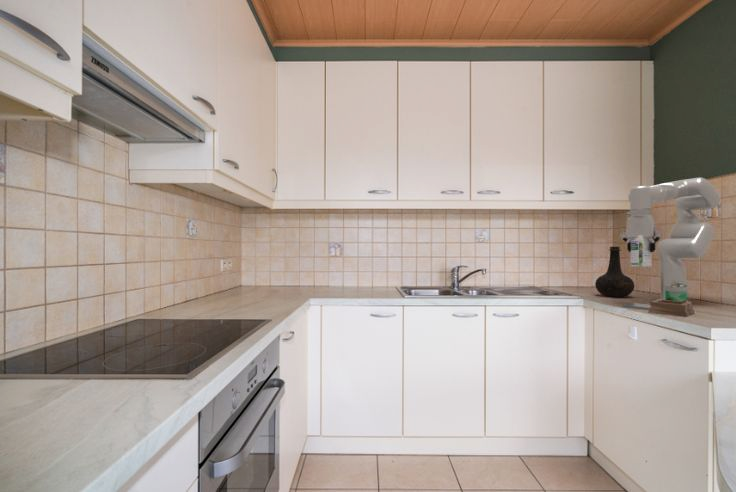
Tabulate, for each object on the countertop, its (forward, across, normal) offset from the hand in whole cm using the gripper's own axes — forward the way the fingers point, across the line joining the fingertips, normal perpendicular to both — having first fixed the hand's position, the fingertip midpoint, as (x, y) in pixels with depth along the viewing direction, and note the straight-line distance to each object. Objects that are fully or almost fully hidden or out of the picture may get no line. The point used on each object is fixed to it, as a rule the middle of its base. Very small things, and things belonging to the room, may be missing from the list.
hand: (641, 251), depth 162 cm
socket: (+25, +12, -8) cm, 29 cm away
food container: (+26, +10, +15) cm, 31 cm away
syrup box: (+7, 0, 0) cm, 7 cm away
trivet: (+25, 0, 0) cm, 25 cm away
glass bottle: (+26, -22, +31) cm, 46 cm away
